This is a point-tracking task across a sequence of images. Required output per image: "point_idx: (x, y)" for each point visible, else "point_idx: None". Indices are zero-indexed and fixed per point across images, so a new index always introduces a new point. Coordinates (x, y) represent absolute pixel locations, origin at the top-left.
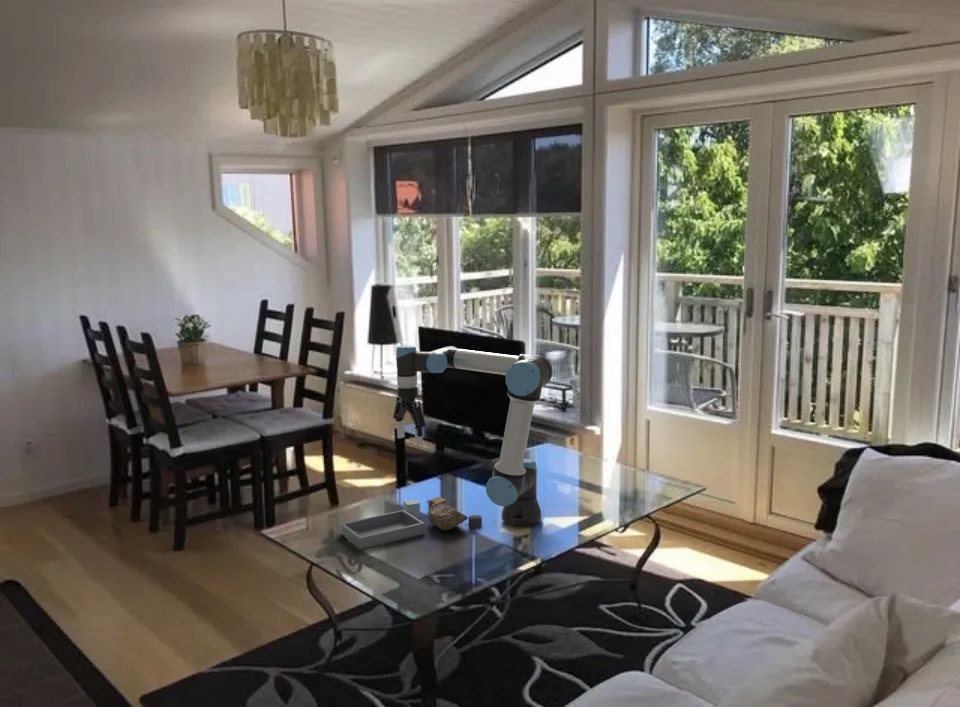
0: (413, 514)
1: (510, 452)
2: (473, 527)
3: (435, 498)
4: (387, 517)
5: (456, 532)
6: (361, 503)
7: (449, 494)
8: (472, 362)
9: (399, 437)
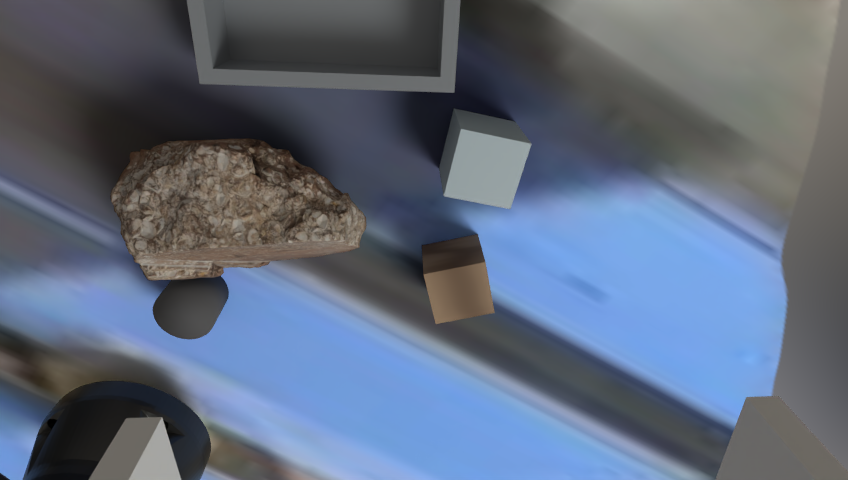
0: (448, 143)
1: None
2: None
3: (480, 296)
4: None
5: None
6: (828, 23)
7: (588, 387)
8: None
9: (747, 421)
